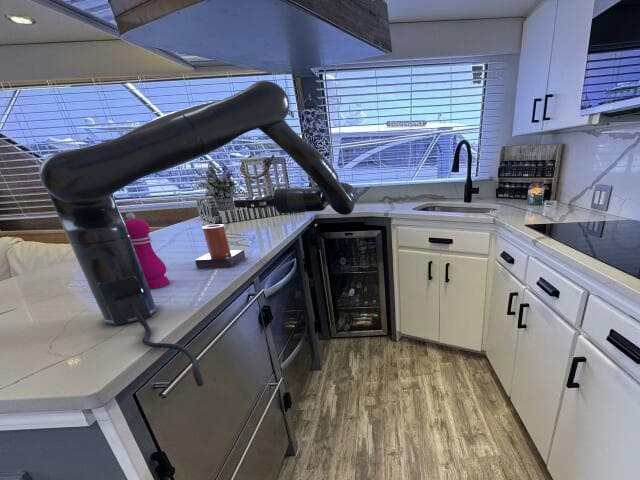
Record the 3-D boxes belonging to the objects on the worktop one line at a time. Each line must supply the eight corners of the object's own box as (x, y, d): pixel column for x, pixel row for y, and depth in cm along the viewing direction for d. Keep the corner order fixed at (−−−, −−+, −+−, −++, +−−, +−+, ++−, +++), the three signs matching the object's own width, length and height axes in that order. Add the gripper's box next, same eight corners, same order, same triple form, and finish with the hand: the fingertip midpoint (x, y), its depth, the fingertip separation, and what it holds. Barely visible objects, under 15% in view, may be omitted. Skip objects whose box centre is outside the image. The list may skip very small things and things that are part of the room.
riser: (230, 267, 104) (228, 258, 103) (197, 268, 104) (194, 259, 103) (245, 258, 114) (243, 249, 113) (215, 259, 114) (212, 251, 113)
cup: (233, 254, 108) (226, 225, 104) (213, 258, 104) (204, 228, 100) (227, 251, 112) (220, 223, 108) (208, 255, 108) (200, 226, 104)
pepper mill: (134, 288, 89) (105, 214, 81) (160, 279, 95) (135, 210, 87) (151, 290, 86) (122, 215, 78) (176, 282, 92) (153, 210, 84)
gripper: (296, 186, 106) (247, 188, 106) (282, 189, 93) (227, 191, 93) (300, 209, 109) (252, 211, 109) (287, 216, 96) (233, 217, 96)
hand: (240, 202), depth 101 cm, fingers open, 8 cm apart
